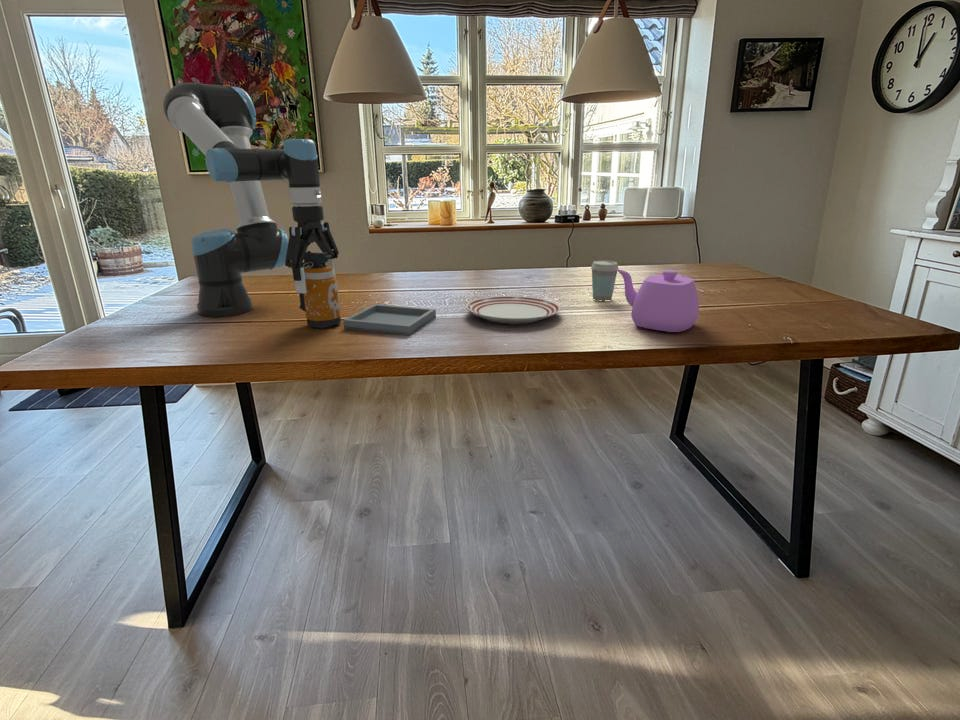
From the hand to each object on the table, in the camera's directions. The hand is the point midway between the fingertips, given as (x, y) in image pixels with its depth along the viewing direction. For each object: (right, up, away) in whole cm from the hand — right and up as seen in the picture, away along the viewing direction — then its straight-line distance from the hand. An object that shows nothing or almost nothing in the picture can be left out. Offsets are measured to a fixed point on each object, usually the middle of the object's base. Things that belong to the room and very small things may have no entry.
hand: (317, 287), depth 140 cm
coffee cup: (+83, 0, +29) cm, 88 cm away
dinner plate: (+53, -7, +12) cm, 55 cm away
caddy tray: (+19, -9, +5) cm, 22 cm away
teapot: (+93, -10, +2) cm, 93 cm away
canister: (0, -10, +4) cm, 11 cm away
